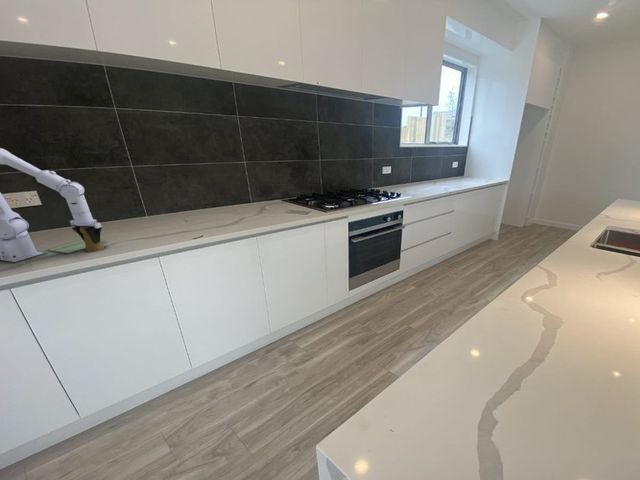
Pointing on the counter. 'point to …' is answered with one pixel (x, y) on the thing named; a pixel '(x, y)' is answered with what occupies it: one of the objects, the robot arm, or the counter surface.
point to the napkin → (70, 247)
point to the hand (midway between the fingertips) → (92, 241)
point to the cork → (90, 241)
